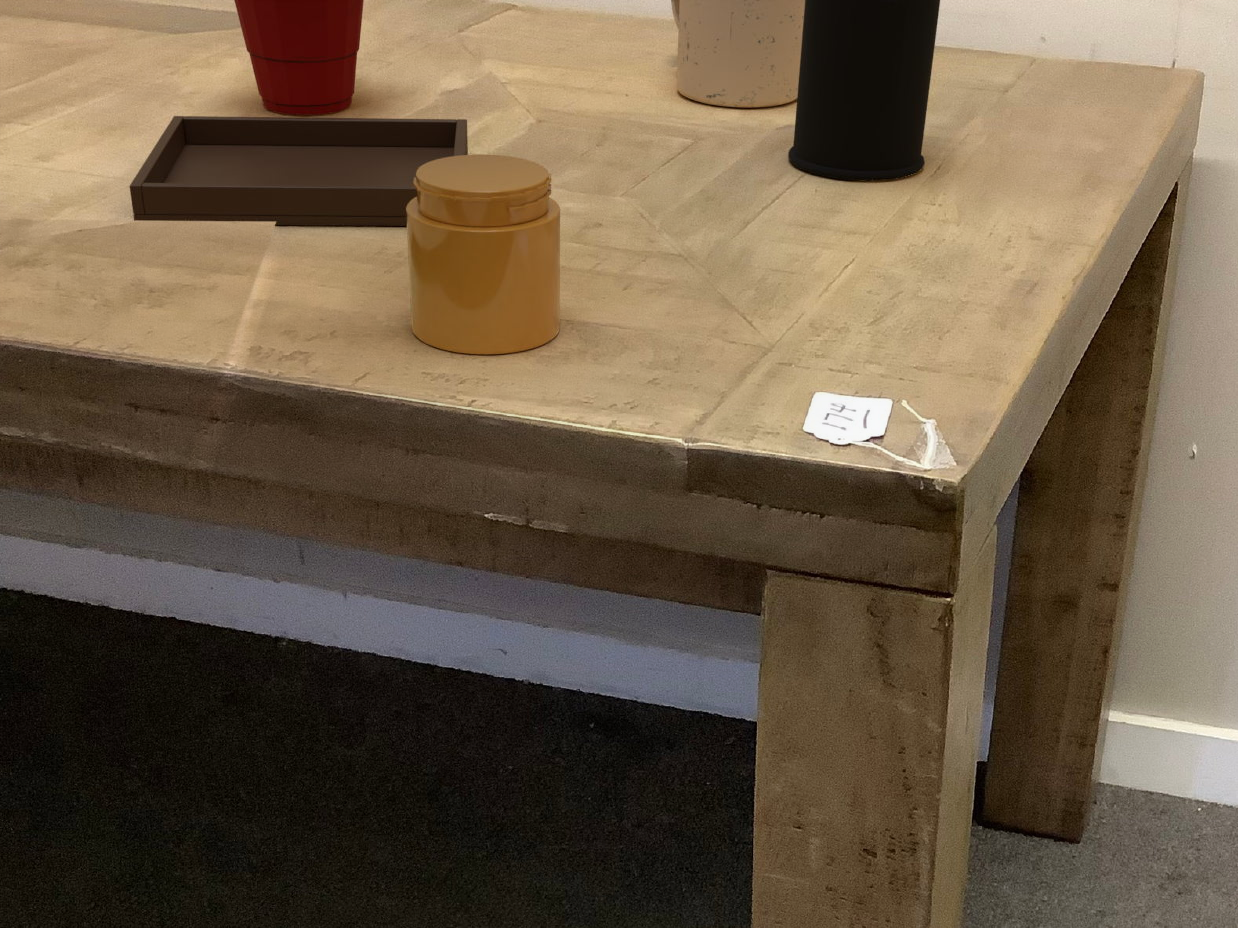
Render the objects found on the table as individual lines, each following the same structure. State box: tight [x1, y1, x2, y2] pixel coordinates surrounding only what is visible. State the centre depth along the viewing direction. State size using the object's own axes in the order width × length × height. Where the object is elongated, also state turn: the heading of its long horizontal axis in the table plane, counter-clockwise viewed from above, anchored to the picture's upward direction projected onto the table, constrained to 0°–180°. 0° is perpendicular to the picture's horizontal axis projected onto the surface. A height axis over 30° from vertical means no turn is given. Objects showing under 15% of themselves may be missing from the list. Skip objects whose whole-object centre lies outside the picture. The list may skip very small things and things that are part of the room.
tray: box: [129, 115, 469, 227], centre depth 94 cm, size 17×14×2 cm
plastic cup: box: [233, 0, 364, 116], centre depth 106 cm, size 11×11×12 cm
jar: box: [406, 153, 561, 355], centre depth 75 cm, size 7×7×7 cm
